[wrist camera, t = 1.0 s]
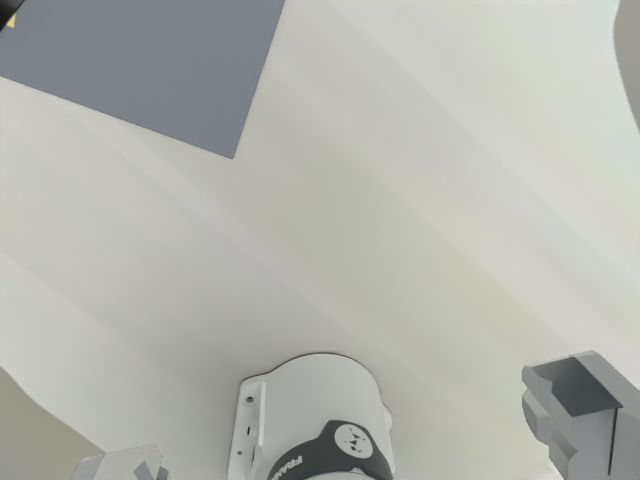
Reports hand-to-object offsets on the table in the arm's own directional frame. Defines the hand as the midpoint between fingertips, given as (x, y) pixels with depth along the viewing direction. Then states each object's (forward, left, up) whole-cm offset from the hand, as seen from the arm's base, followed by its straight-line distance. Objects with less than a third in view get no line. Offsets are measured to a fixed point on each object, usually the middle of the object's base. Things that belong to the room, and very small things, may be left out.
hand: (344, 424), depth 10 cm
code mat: (+4, +19, -34) cm, 39 cm away
